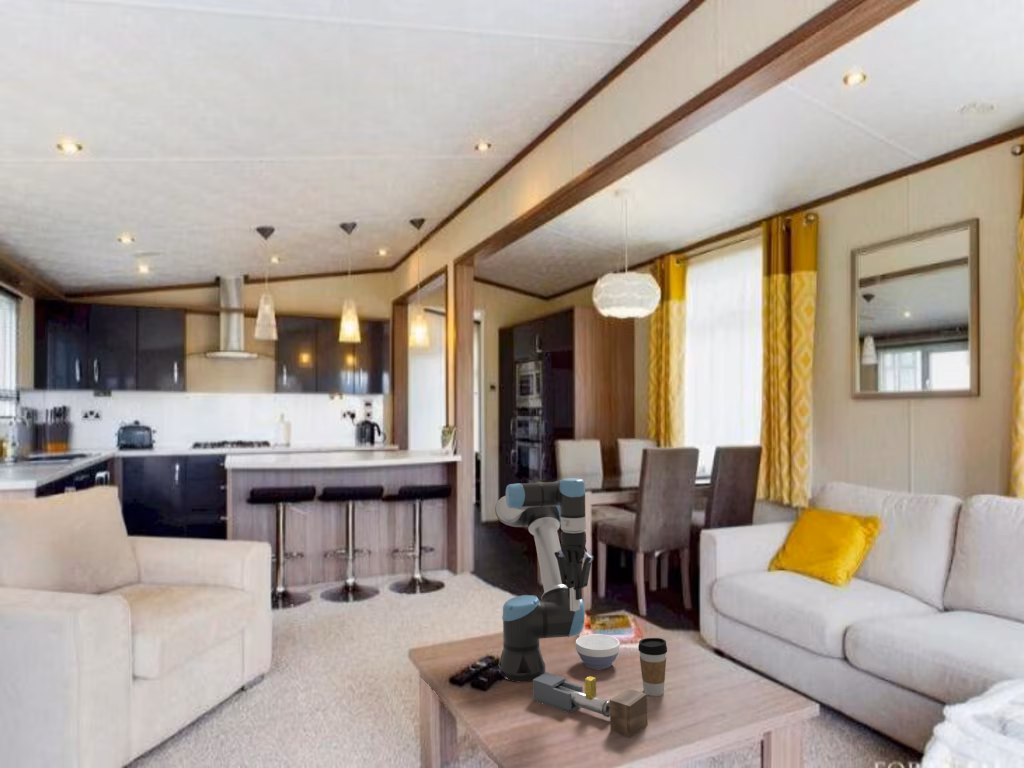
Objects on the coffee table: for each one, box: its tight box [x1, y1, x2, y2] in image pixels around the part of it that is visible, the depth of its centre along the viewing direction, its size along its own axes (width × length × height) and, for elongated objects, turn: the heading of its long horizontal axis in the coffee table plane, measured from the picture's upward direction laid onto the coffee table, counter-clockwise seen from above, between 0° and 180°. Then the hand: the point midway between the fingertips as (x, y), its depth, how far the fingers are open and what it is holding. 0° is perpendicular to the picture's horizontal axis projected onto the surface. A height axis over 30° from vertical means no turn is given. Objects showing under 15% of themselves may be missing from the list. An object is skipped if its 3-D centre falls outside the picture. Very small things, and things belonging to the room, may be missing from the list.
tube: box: [554, 675, 610, 718], centre depth 186 cm, size 22×4×9 cm, turn 50°
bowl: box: [575, 633, 621, 671], centre depth 217 cm, size 14×14×8 cm
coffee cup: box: [637, 637, 668, 697], centre depth 196 cm, size 8×8×15 cm
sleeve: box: [532, 671, 583, 714], centre depth 190 cm, size 13×7×6 cm, turn 50°
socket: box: [609, 687, 648, 738], centre depth 175 cm, size 6×9×8 cm, turn 140°
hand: (575, 609), depth 197 cm, fingers closed
